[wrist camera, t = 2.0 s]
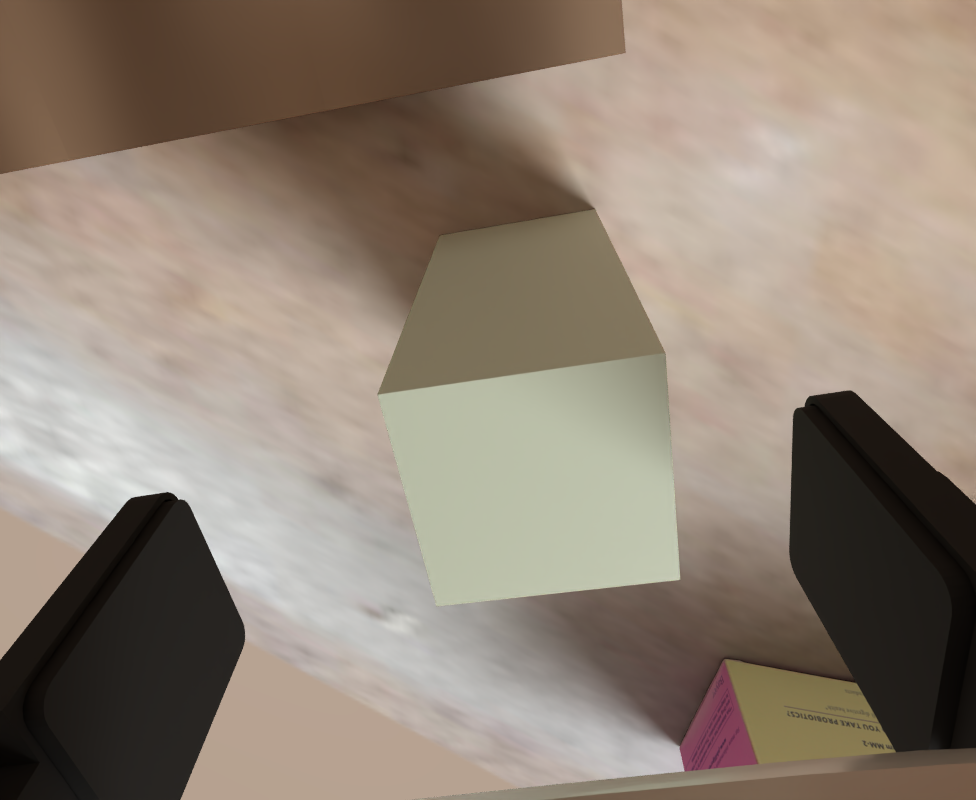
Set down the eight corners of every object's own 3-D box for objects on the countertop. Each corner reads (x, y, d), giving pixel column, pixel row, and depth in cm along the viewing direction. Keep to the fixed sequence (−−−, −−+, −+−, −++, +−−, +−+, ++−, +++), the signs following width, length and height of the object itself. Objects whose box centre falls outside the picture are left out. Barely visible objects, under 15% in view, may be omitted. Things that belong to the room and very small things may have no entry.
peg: (595, 208, 19) (665, 352, 10) (610, 353, 21) (680, 580, 12) (439, 235, 20) (377, 394, 11) (468, 374, 22) (436, 606, 13)
